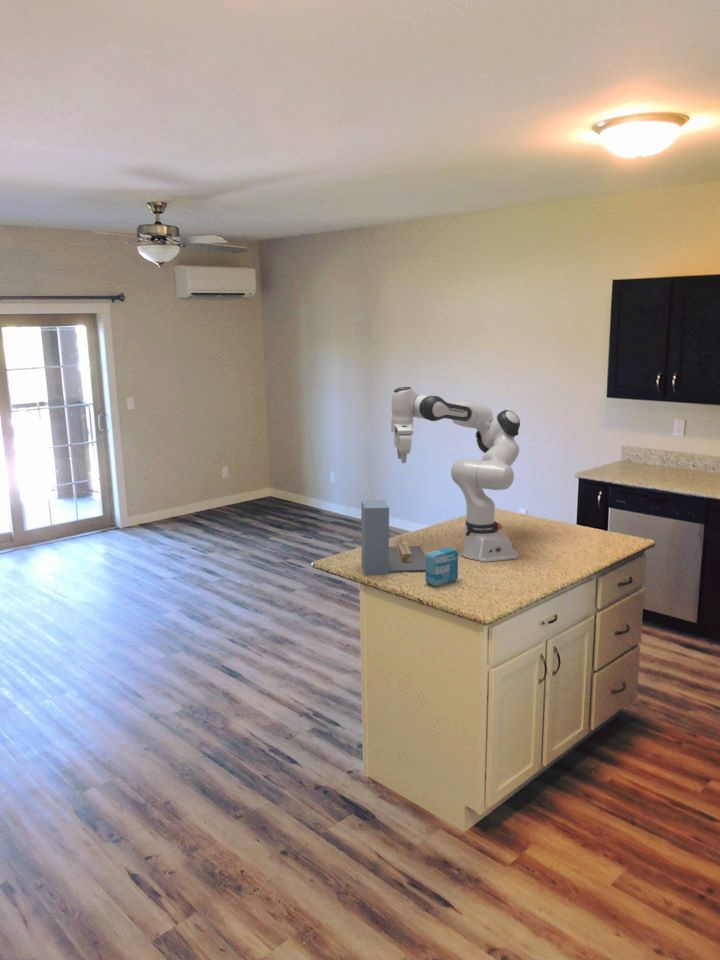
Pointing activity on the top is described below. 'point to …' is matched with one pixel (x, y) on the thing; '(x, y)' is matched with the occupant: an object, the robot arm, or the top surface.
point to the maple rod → (403, 550)
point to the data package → (441, 566)
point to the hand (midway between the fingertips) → (401, 460)
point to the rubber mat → (414, 566)
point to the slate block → (375, 537)
